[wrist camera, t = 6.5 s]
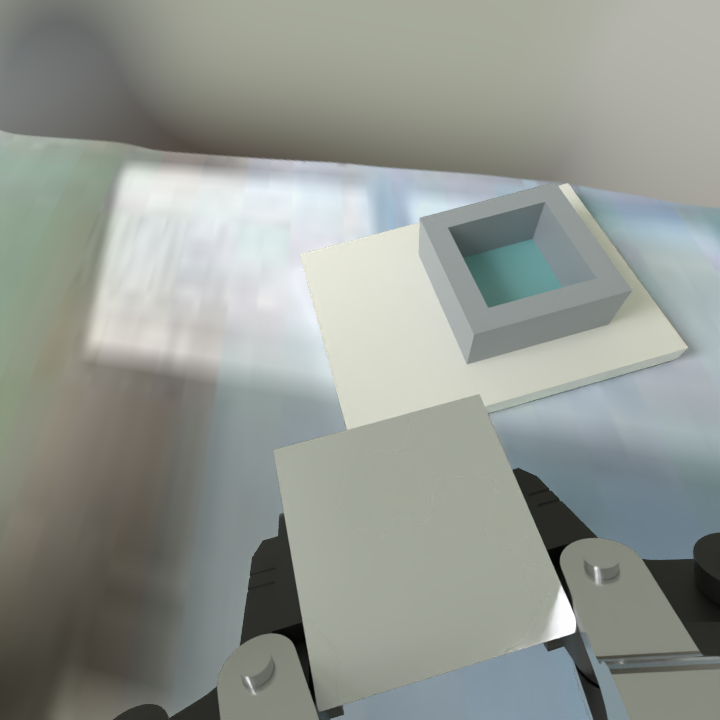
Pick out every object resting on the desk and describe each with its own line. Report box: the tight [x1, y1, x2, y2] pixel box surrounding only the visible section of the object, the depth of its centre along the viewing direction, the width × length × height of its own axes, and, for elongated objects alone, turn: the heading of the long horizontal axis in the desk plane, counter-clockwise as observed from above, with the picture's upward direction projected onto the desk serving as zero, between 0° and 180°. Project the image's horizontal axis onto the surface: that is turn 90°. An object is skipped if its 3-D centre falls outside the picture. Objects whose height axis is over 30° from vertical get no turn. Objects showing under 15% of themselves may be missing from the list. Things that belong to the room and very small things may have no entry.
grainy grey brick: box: [273, 394, 579, 712], centre depth 12 cm, size 4×4×10 cm
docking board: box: [300, 182, 688, 430], centre depth 26 cm, size 18×13×4 cm
